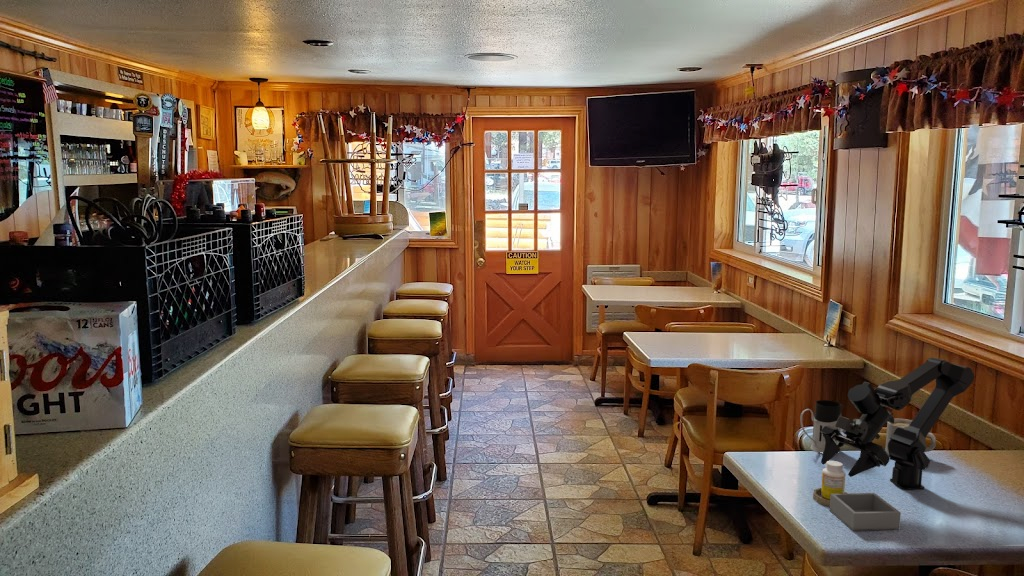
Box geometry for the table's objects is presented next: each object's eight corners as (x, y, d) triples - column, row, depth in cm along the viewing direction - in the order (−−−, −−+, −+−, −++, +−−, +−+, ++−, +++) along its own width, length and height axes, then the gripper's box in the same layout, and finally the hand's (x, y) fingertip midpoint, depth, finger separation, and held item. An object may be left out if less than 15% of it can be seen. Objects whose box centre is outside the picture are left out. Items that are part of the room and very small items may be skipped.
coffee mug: (880, 454, 234) (883, 423, 232) (890, 446, 241) (893, 416, 239) (928, 465, 225) (931, 433, 223) (937, 457, 232) (940, 425, 231)
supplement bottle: (828, 494, 203) (830, 457, 202) (847, 501, 199) (850, 464, 197) (816, 499, 200) (818, 462, 199) (836, 506, 196) (838, 468, 194)
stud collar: (840, 492, 204) (840, 487, 204) (857, 507, 195) (858, 501, 195) (807, 493, 204) (807, 488, 203) (823, 507, 195) (823, 502, 194)
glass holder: (846, 453, 235) (850, 406, 233) (807, 457, 231) (811, 409, 229) (827, 443, 243) (830, 398, 241) (789, 447, 239) (792, 401, 237)
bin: (873, 509, 194) (874, 492, 193) (899, 530, 182) (900, 512, 182) (829, 510, 193) (830, 493, 192) (852, 531, 182) (854, 513, 181)
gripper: (828, 396, 207) (794, 439, 204) (885, 415, 190) (849, 463, 187) (847, 421, 211) (814, 464, 208) (905, 442, 194) (870, 489, 191)
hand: (835, 469), depth 198 cm, fingers open, 9 cm apart
